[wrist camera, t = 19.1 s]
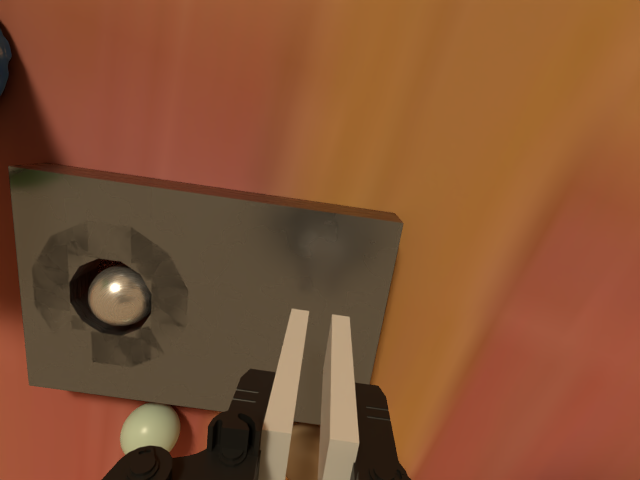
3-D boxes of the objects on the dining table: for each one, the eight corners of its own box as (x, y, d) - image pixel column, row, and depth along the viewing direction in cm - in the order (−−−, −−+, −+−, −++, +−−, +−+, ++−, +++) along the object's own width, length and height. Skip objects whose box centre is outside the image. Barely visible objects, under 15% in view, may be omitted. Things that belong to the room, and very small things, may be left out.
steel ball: (155, 254, 22) (164, 279, 20) (151, 303, 23) (159, 334, 21) (88, 254, 20) (88, 282, 18) (87, 308, 22) (86, 342, 19)
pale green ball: (189, 393, 24) (167, 434, 21) (187, 435, 25) (165, 481, 22) (138, 386, 24) (107, 426, 21) (137, 428, 25) (108, 473, 22)
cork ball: (335, 413, 25) (336, 457, 21) (328, 454, 25) (327, 502, 22) (284, 406, 24) (277, 449, 21) (278, 447, 25) (271, 495, 22)
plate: (394, 213, 21) (403, 223, 18) (356, 401, 24) (359, 430, 22) (46, 162, 20) (8, 166, 18) (59, 360, 24) (29, 385, 21)
